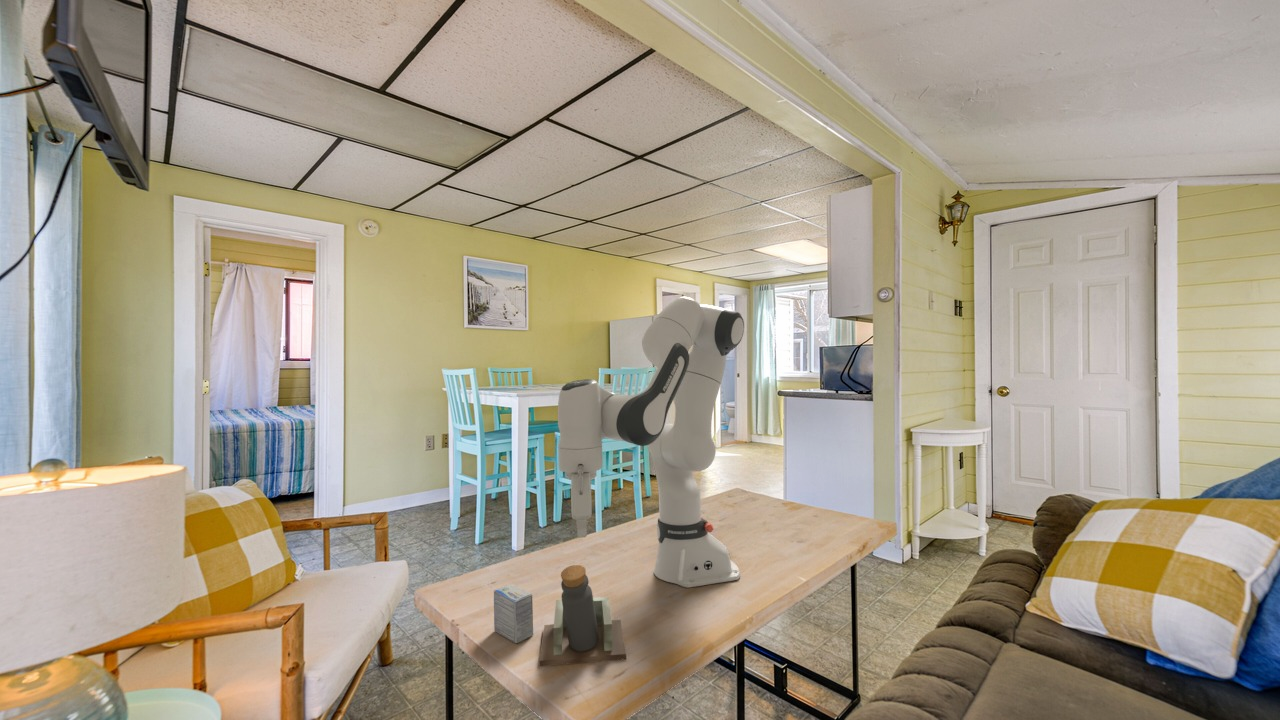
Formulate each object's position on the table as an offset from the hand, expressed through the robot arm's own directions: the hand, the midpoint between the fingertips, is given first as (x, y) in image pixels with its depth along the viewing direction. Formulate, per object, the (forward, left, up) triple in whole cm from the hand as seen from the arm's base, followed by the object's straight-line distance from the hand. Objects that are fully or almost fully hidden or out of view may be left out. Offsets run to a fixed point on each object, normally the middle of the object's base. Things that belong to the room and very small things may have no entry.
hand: (582, 528), depth 102 cm
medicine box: (+14, -4, -23) cm, 27 cm away
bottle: (0, +4, -21) cm, 21 cm away
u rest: (0, +2, -22) cm, 22 cm away
